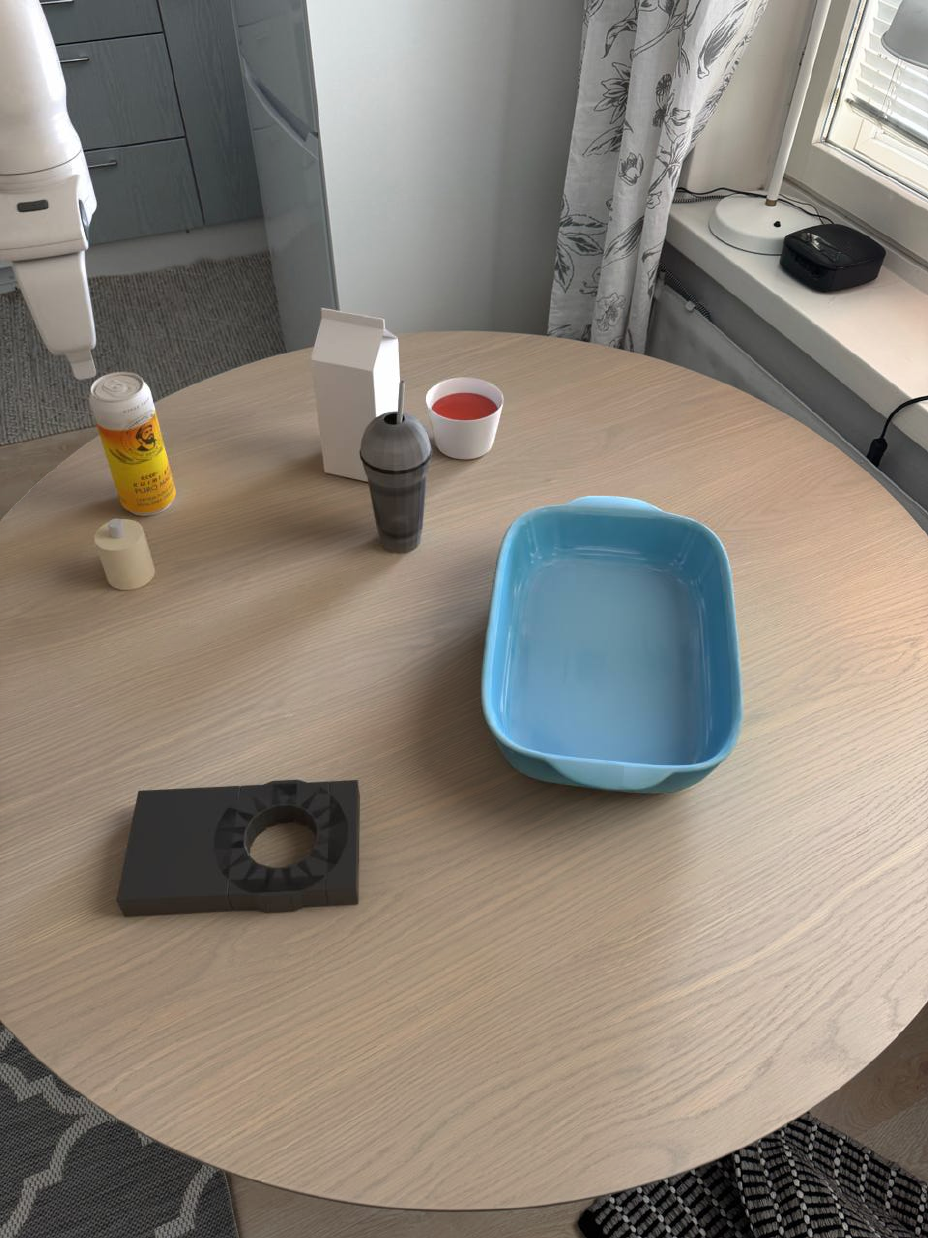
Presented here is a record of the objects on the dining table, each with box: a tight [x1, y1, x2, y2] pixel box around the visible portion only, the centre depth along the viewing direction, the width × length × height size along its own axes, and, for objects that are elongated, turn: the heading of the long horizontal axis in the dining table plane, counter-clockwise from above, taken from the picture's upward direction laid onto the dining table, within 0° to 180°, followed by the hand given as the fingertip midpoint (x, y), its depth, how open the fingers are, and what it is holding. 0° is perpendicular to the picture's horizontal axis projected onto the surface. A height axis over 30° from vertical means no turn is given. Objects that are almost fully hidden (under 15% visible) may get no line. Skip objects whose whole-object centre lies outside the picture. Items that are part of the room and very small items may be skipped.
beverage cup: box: [359, 379, 433, 554], centre depth 100 cm, size 7×7×20 cm
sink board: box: [116, 779, 361, 918], centre depth 80 cm, size 18×11×2 cm, turn 94°
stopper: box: [93, 518, 156, 591], centre depth 101 cm, size 5×5×7 cm
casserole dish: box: [480, 495, 744, 794], centre depth 92 cm, size 37×22×7 cm, turn 173°
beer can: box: [88, 371, 177, 517], centre depth 106 cm, size 6×6×15 cm
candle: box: [425, 377, 504, 460], centre depth 118 cm, size 9×9×6 cm
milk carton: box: [310, 307, 401, 483], centre depth 110 cm, size 7×7×19 cm
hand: (81, 347), depth 88 cm, fingers open, 8 cm apart
